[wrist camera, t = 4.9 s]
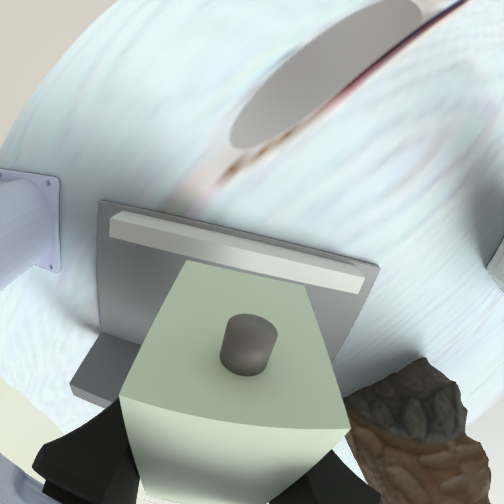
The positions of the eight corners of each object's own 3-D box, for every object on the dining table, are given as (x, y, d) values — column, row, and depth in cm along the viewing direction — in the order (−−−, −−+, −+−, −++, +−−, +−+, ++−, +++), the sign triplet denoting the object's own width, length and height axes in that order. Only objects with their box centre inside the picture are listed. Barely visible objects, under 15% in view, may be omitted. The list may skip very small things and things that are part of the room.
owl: (434, 345, 22) (515, 498, 3) (440, 394, 26) (488, 505, 7) (328, 402, 24) (359, 572, 6) (359, 436, 28) (385, 554, 10)
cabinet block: (171, 394, 14) (146, 495, 7) (190, 237, 11) (113, 361, 4) (253, 409, 14) (253, 512, 8) (311, 264, 11) (373, 402, 4)
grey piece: (105, 340, 21) (73, 394, 15) (102, 199, 16) (37, 234, 10) (313, 385, 23) (325, 446, 17) (378, 265, 18) (425, 322, 12)
